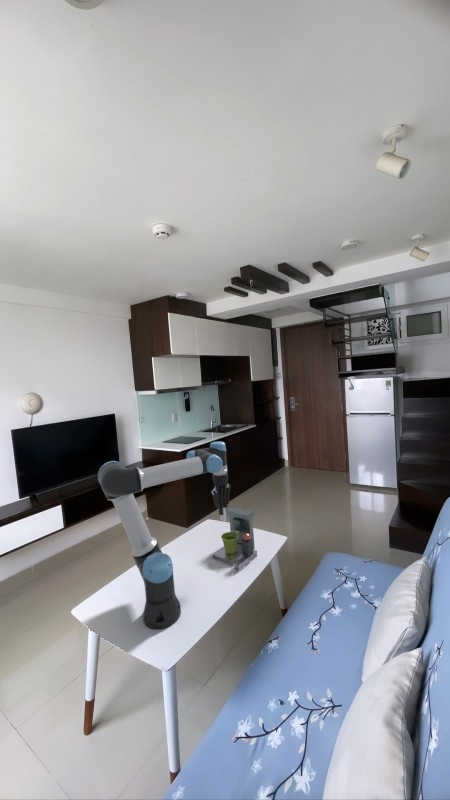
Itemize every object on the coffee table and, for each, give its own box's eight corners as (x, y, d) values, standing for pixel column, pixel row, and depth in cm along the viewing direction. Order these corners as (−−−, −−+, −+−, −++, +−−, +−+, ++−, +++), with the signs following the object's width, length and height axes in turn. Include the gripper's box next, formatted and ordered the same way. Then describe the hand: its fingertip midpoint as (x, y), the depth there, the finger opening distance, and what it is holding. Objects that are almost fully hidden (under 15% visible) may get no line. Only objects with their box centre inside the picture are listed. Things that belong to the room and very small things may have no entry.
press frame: (239, 571, 157) (236, 531, 156) (209, 559, 169) (206, 522, 168) (264, 550, 175) (261, 513, 173) (236, 540, 187) (233, 506, 186)
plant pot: (219, 550, 174) (218, 534, 174) (234, 545, 178) (233, 530, 178) (226, 558, 166) (225, 542, 165) (242, 552, 170) (241, 537, 169)
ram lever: (248, 557, 163) (247, 536, 162) (242, 555, 165) (241, 534, 165) (253, 553, 166) (251, 532, 165) (247, 551, 168) (245, 531, 168)
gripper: (216, 478, 149) (220, 527, 151) (234, 471, 159) (237, 517, 160) (205, 475, 154) (208, 523, 156) (223, 469, 164) (226, 514, 165)
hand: (223, 520), depth 158 cm, fingers closed
